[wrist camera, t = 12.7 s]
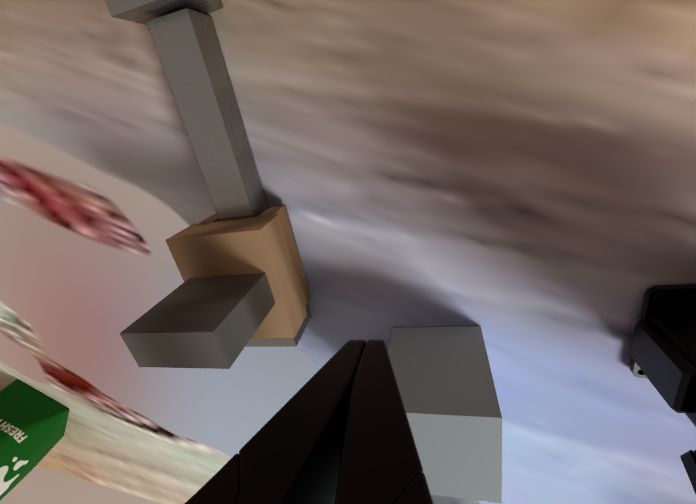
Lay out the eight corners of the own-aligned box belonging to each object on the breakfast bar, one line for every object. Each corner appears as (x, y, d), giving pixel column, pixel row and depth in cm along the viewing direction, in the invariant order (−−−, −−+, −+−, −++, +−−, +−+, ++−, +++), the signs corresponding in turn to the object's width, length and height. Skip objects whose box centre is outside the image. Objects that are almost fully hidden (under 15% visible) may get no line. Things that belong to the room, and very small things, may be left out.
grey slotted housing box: (480, 326, 22) (501, 417, 16) (482, 400, 25) (501, 502, 18) (391, 327, 23) (379, 411, 17) (403, 397, 26) (396, 490, 20)
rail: (214, -21, 16) (171, -44, 14) (310, 317, 25) (296, 346, 22) (151, 1, 17) (98, -16, 15) (264, 318, 26) (244, 346, 23)
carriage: (291, 203, 20) (200, 279, 12) (316, 296, 23) (256, 409, 15) (210, 214, 22) (83, 287, 14) (243, 300, 25) (153, 403, 17)
